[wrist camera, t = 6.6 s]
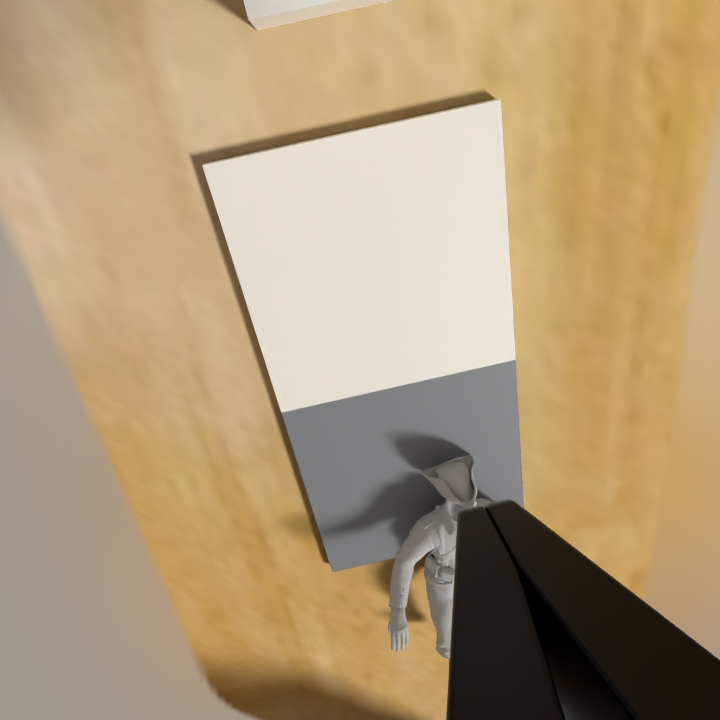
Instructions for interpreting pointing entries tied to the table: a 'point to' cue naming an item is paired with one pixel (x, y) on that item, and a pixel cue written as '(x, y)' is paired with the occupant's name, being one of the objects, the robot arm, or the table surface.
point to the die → (298, 10)
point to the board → (382, 314)
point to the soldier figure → (434, 552)
